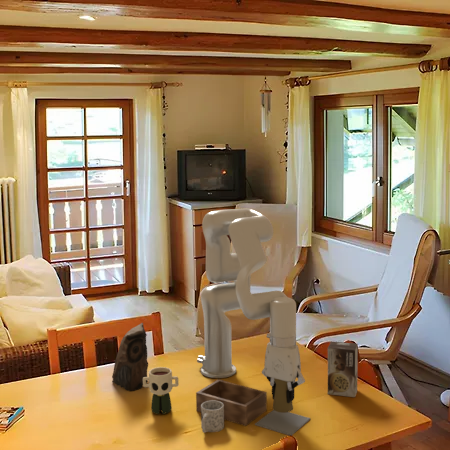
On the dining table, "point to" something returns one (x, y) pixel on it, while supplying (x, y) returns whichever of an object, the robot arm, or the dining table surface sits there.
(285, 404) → the cork
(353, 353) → the coffee box
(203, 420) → the mug
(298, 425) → the grey mat
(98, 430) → the dining table surface
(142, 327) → the owl
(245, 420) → the walnut box
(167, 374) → the character mug
